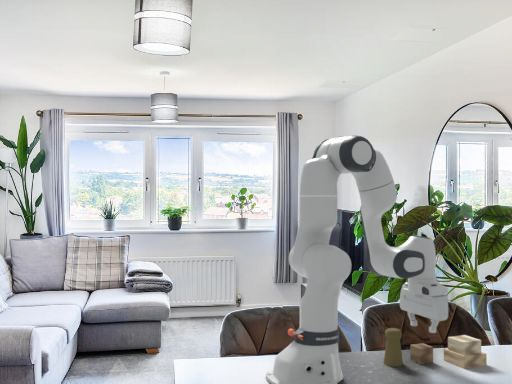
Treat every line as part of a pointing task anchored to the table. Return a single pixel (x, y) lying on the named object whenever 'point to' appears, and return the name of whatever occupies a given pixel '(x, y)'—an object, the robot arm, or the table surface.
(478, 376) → the table surface
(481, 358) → the tower base
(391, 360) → the cork
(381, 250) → the robot arm
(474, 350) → the tower mid
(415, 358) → the walnut cube
